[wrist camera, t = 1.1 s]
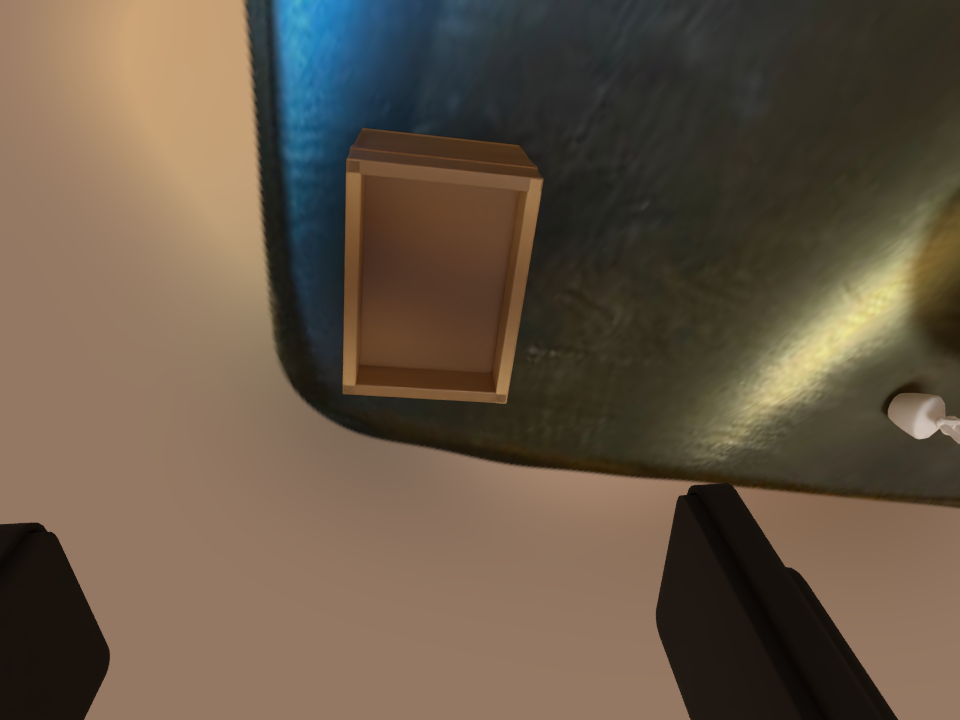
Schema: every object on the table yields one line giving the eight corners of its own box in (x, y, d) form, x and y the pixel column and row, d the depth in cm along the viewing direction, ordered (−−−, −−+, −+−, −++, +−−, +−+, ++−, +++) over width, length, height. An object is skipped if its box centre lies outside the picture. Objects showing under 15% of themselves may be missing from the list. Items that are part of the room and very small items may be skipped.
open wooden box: (360, 125, 25) (344, 156, 20) (521, 143, 26) (545, 177, 21) (355, 327, 29) (341, 395, 24) (493, 337, 30) (507, 405, 25)
